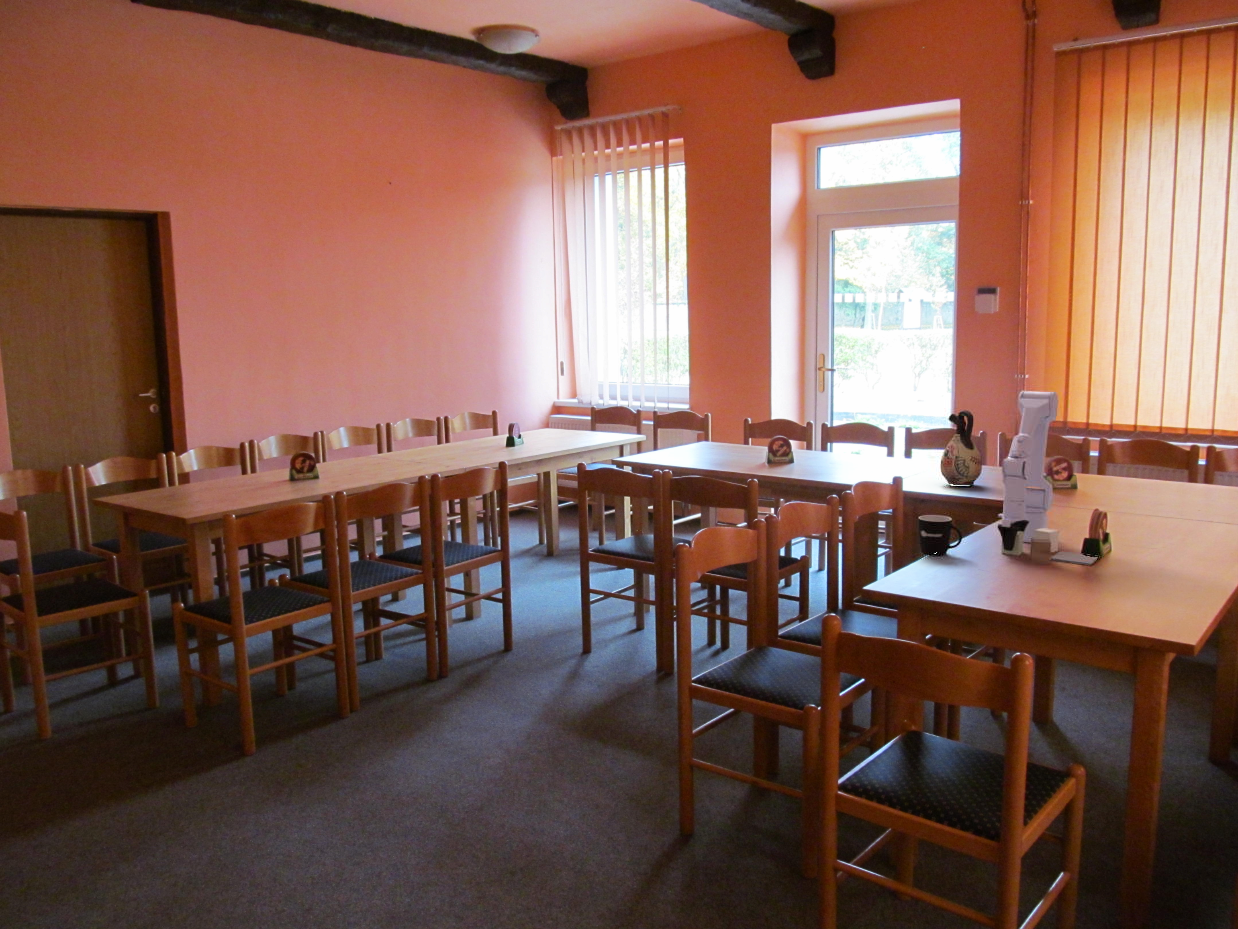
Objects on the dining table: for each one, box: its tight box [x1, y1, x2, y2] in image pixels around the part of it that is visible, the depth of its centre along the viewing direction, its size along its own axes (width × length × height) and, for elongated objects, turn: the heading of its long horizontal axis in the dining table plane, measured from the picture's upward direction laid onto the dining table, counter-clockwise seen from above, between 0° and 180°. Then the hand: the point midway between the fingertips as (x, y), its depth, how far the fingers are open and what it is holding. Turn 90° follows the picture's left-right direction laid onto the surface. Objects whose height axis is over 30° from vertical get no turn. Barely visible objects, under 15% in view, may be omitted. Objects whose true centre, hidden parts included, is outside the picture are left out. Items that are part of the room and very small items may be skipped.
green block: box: [1001, 531, 1024, 557], centre depth 276 cm, size 4×4×6 cm
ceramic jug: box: [939, 409, 983, 486], centre depth 382 cm, size 17×15×30 cm
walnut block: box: [1029, 538, 1051, 565], centre depth 265 cm, size 4×4×6 cm
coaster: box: [1050, 550, 1098, 566], centre depth 268 cm, size 10×10×1 cm
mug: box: [917, 514, 963, 557], centre depth 275 cm, size 12×9×10 cm
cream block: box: [1035, 527, 1060, 554], centre depth 278 cm, size 4×4×6 cm
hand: (1012, 547), depth 276 cm, fingers open, 7 cm apart
